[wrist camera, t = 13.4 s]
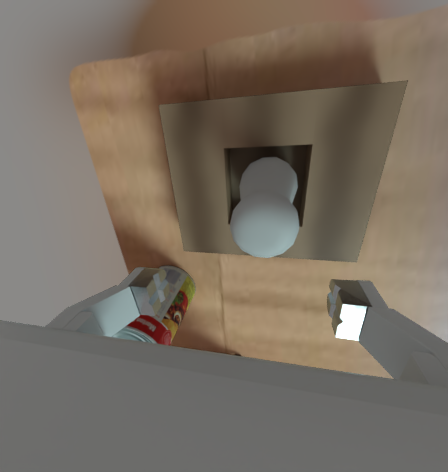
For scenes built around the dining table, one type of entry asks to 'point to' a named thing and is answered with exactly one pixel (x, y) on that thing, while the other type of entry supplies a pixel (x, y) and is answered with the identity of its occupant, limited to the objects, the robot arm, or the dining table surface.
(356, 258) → the walnut holder
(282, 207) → the salt shaker
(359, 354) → the dining table surface
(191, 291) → the canned food
